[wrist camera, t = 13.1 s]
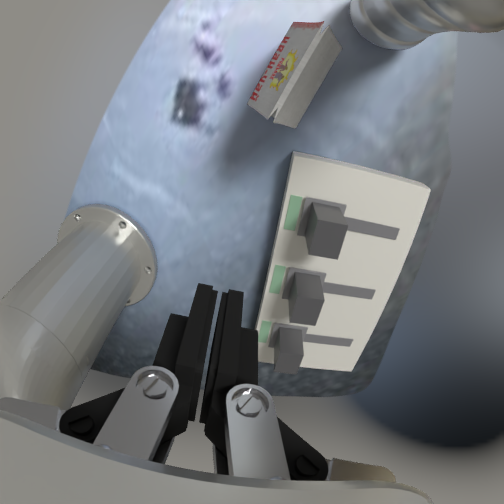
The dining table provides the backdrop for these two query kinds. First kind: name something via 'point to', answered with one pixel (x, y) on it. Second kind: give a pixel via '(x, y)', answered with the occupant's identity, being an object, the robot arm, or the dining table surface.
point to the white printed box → (295, 73)
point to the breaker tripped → (323, 227)
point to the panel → (341, 256)
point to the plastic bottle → (422, 19)
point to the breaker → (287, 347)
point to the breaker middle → (304, 295)
